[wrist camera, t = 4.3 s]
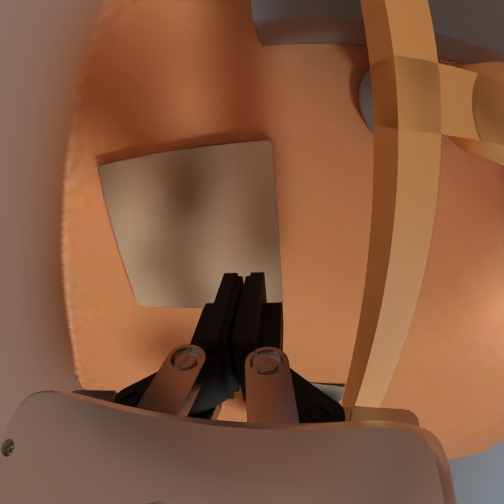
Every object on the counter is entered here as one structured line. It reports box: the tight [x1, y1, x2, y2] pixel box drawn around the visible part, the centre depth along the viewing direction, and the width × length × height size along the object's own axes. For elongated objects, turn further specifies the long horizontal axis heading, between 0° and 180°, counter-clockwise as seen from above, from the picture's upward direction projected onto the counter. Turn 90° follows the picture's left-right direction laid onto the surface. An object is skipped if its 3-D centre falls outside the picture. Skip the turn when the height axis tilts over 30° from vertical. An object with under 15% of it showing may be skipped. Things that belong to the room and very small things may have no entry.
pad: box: [98, 139, 283, 308], centre depth 17 cm, size 10×10×1 cm
